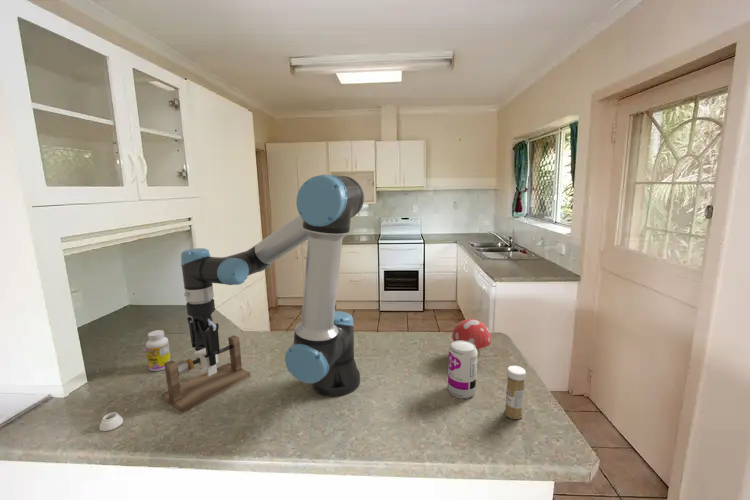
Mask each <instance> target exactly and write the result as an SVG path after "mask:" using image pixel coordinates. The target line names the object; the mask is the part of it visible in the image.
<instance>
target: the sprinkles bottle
mask: <svg viewBox="0 0 750 500" xmlns="http://www.w3.org/2000/svg"><path fill="white" fill-rule="evenodd" d="M506 371H507V372H506V374H507V375H506V377H507V382H506V383H507V384H506V393H505V409H504V414H505V416H506V417H508V418H510V419H512V420H519V419H521V418H522V417H523V406H524V397H525V380H526V374H527V372H526V370H525V368H523V367H521V366H519V365H510V366H508V367H507V369H506Z"/></svg>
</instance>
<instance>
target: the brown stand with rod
mask: <svg viewBox="0 0 750 500" xmlns="http://www.w3.org/2000/svg"><path fill="white" fill-rule="evenodd" d="M226 351H229V358H230V362H227V363H225V364H223V365H221V366H219V367H217V373H215V374H213V375H211V376H207V372H206V373H204V374H203V373H202V375H199V376H197V377H195V378H193V379H190V380H189V381H186V382H185V383H182V384H180V377H181V376H183V375H185V374H187V373H189V372H190V371H191V370H194V368H195V366H196V364H197V363H199V362H200V358H199V359H196V360H195V359H194V360H192V358H188V359H185V360H181V361H178V362H176V361H174V360H172V359H171V361H169V362H166V363H164V364H165V369H164V371H165V378H166V384H167V385H166V387H167V391H165V392H163V393H161V399H162V400H164V401H165V402H167V403H168V404H170V405H171V406H172V407H174V408H175V409H177V410H178V411H180V412H181V413H183V414H184V413H186V412H188V411H190V410H191V409H193V408H195V407H197V406H199V405H200V404H203V403H205V402H206V401H208V400H210V399H212V398H214V397H215V395H216V396H217V395H219V394H221V393H223V392H225V391H227V390H228V389H231V388H232V387H234V386H236V385H238V384H241V383H242V382H243V381H245V380H248V379H250V378H251V376H252V375H251V372H250V371H247V370H245V369H243V366H242V354H241V344H240V337H239V336H237V335H231V336H228V345H227V346H225V347H222V348H221V349H220V353H218V355H219V354H220V355H221V354H222V353H225V352H226Z"/></svg>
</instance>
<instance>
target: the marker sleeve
mask: <svg viewBox="0 0 750 500" xmlns="http://www.w3.org/2000/svg"><path fill="white" fill-rule="evenodd" d="M205 355H207V353H206V348H203V349H201V350H199V351H196V350H195V351H194V360H196V359H199V358H200V362H199V363H197V364H195V366H196V367H198V368H199V367H200V368H202V369H204V368H207V367H206V358H205ZM215 357H216V364H217V363H219V354H216V355H215Z"/></svg>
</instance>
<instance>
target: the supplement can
mask: <svg viewBox="0 0 750 500" xmlns="http://www.w3.org/2000/svg"><path fill="white" fill-rule="evenodd" d="M477 354H478V352H477V349H476V347H475V345H474V344H473V343H471V342H468V341H463V340H459V341H454V340H453V341H452V342H451V344H450V346H449V348H448V367H447V369H448V371H447V390H448V392H449V393H450V394H451V395H452V396H453V397H455V396H456V398H459V399H463V398H465V399H469V397H470V398H472V397H474V395H476V392H477V391H476V390H477V374H478V373H477V372H478V369H477V368H478V359H477ZM471 396H472V397H471Z"/></svg>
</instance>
